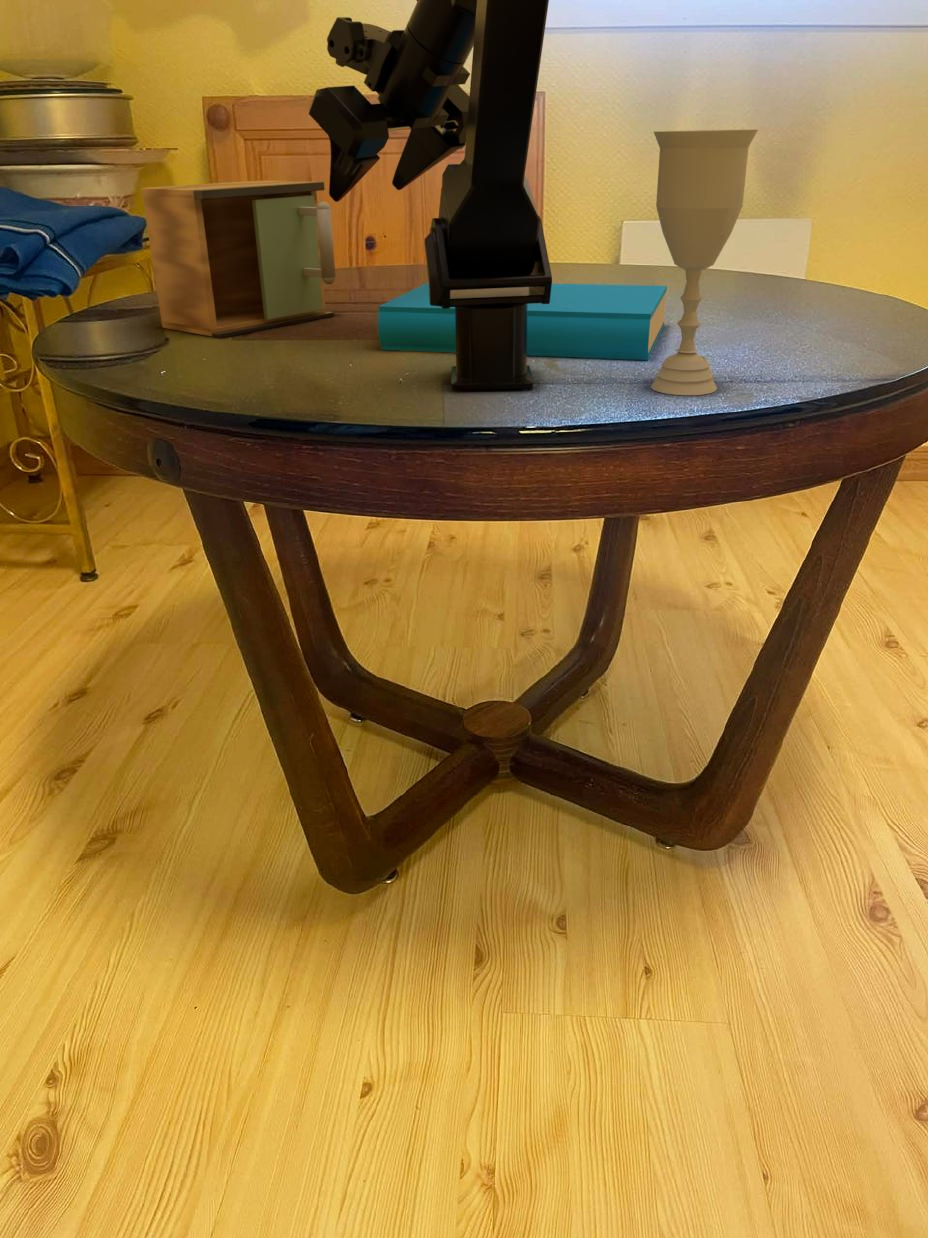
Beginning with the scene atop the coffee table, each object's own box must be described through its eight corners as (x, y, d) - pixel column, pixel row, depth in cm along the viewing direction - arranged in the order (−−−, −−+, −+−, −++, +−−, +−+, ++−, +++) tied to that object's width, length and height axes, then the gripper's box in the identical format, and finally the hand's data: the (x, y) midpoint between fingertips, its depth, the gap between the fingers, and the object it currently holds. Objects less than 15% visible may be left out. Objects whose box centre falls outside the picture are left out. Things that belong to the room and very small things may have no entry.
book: (428, 280, 104) (667, 281, 98) (430, 322, 106) (664, 325, 100) (375, 307, 89) (652, 309, 83) (378, 355, 91) (650, 361, 85)
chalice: (747, 386, 76) (776, 129, 68) (701, 403, 72) (727, 130, 64) (667, 372, 81) (685, 130, 73) (619, 388, 76) (633, 131, 68)
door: (349, 313, 105) (341, 195, 100) (294, 324, 99) (283, 200, 94) (319, 309, 108) (310, 194, 102) (264, 319, 102) (251, 199, 97)
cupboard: (334, 315, 108) (324, 181, 102) (220, 338, 98) (201, 190, 92) (276, 307, 114) (263, 179, 108) (162, 327, 103) (141, 187, 97)
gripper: (441, -20, 91) (374, 128, 102) (300, -26, 78) (241, 143, 89) (521, 62, 90) (444, 202, 101) (391, 69, 77) (319, 228, 88)
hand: (365, 192), depth 95 cm, fingers open, 9 cm apart
